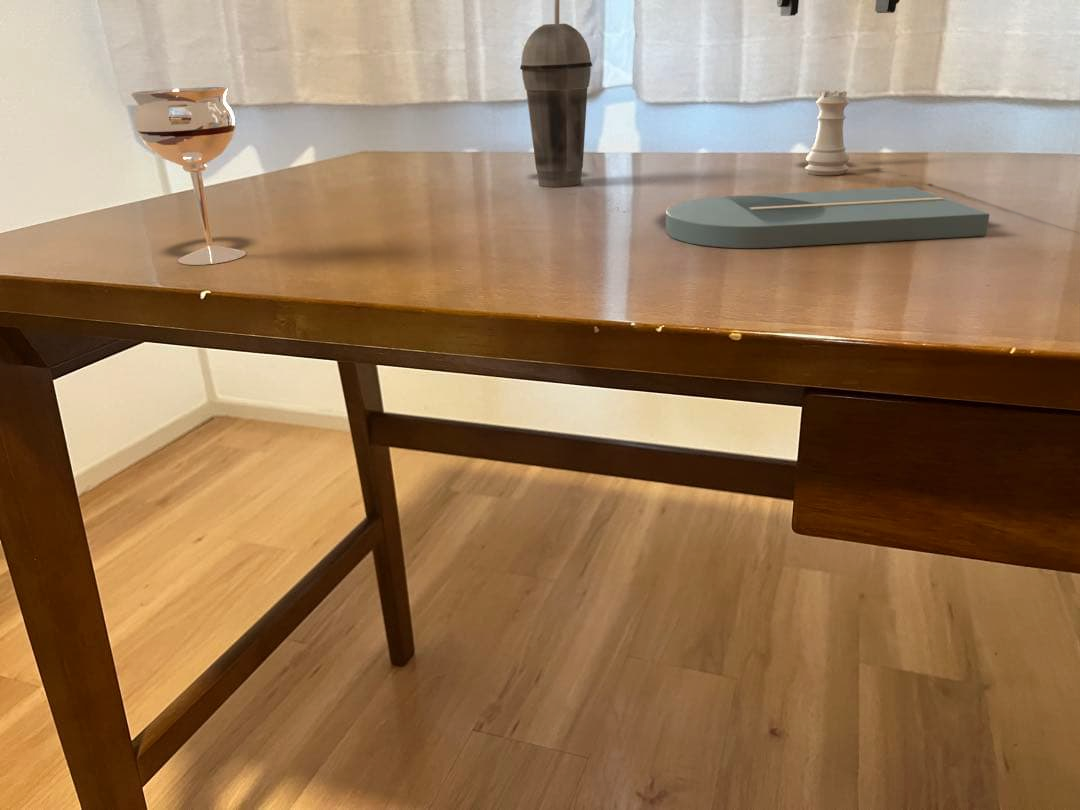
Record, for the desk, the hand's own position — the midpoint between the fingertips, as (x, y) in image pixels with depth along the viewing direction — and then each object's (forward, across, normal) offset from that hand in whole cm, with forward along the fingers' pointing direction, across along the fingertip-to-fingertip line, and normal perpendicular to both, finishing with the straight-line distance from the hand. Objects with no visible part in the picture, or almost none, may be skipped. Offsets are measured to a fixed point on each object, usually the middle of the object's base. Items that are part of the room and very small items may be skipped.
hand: (836, 14), depth 84 cm
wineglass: (+16, -56, -24) cm, 64 cm away
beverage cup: (+16, -28, +2) cm, 32 cm away
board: (+15, -10, -25) cm, 31 cm away
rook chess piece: (+15, 0, 0) cm, 15 cm away
